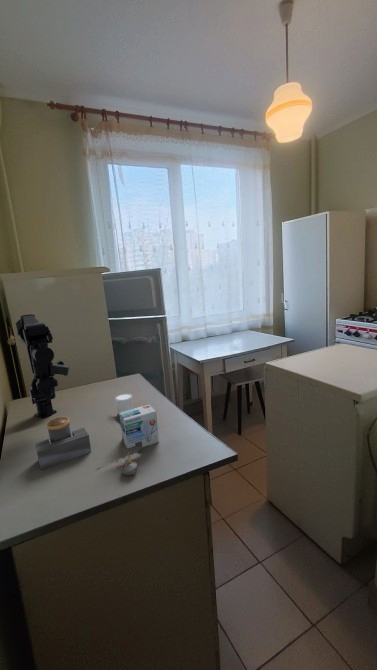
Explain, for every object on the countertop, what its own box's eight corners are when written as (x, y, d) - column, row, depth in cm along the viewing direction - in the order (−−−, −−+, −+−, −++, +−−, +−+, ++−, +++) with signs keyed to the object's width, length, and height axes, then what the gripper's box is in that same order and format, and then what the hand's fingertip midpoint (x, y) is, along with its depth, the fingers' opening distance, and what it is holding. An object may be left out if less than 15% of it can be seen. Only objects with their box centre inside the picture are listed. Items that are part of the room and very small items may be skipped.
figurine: (138, 476, 79) (134, 454, 79) (121, 480, 78) (117, 458, 78) (137, 467, 84) (134, 446, 84) (122, 470, 83) (118, 450, 83)
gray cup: (50, 450, 92) (44, 421, 90) (71, 443, 96) (66, 414, 94) (53, 460, 87) (48, 429, 85) (76, 452, 90) (71, 422, 88)
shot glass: (130, 417, 114) (128, 400, 112) (113, 417, 115) (111, 400, 114) (136, 409, 120) (135, 393, 119) (121, 409, 122) (119, 393, 120)
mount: (31, 449, 96) (27, 429, 95) (81, 432, 105) (78, 414, 104) (38, 478, 82) (34, 455, 80) (96, 455, 90) (93, 434, 89)
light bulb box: (127, 453, 90) (123, 420, 88) (122, 443, 96) (118, 412, 94) (160, 442, 95) (156, 410, 93) (152, 433, 101) (149, 403, 99)
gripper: (69, 359, 100) (77, 402, 103) (61, 351, 116) (67, 389, 119) (33, 366, 95) (42, 412, 97) (29, 357, 110) (37, 396, 113)
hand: (48, 401), depth 107 cm, fingers closed
